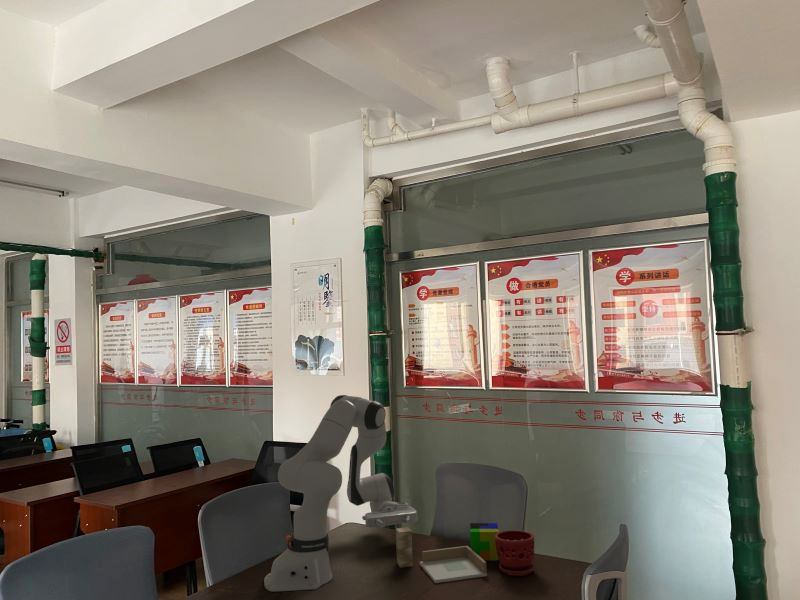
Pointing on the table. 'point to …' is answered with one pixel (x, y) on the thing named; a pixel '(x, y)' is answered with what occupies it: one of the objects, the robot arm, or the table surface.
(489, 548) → the puzzle toy
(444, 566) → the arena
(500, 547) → the plant pot
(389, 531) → the table surface
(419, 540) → the table surface
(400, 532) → the beech block
